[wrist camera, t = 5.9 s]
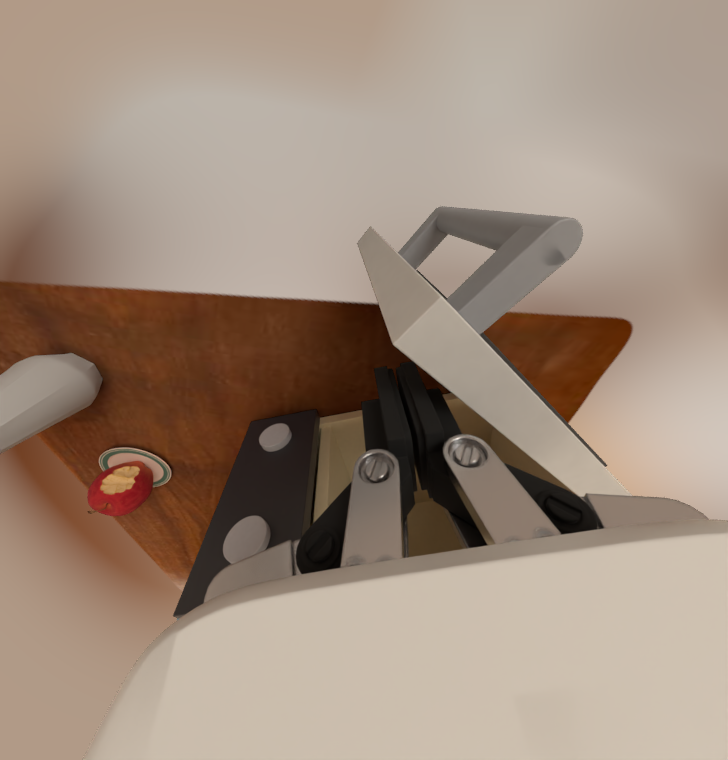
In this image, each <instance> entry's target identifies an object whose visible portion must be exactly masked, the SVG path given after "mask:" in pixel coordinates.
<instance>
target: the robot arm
mask: <svg viewBox="0 0 728 760" xmlns="http://www.w3.org/2000/svg"><path fill="white" fill-rule="evenodd" d="M374 372H375V377H376V383H377V389H378V394H379V399H375V400H369V401H364V402H362V403H361V404H362V416H363V427H364V439H365V450H366V452H365V453H363V454H362V455H361V456H360V457H359V458H358V459H357V461H356V462H355V465H354V469H353V476H352V481H351V483H350V484H349V485H348V486H347V487H346V488H345V489H344V490H343V491H342V492H341V493H340V495H339V496H338V497H337V498H336V499H335V500H334V501H333V502H332V503H331V504H330V506H329V507H328V508H327V509H326V510H325V511H324V512H323V513H322V514H321V515H320V517H319V518H318V519H317V520H316V521H315V522H314V523H313V524H312V525H311V526H310V527H309V529H308V530H307V531H306V532H305V533H304V535H303V536H302V537H301V539H299V540H296V541H294V542H292V541H291V540H288V541H286V542H283V543H281V544H279V545H276V546H274V547H271V548H269V549H266V550H264V551H262V552H259V553H257V554H254V555H252V556H249V557H247V558H245V559H242V560H240V561H237V562H235V563H232V564H230V565H228V566H227V567H225V568H224V569H222V570H221V571H220V572H219V573H218V574H217V575H216V576H215V577H214V578H213V580H212V582H211V583H210V585H209V587H208V589H207V592H206V595H205V598H204V603H203V604H201V605H200V606H198V607H196V608H194V609H193V610H191V611H190V612H188V613H187V614H185V615H184V616H182V617H181V618H179V619H178V620H177V621H176V622H174V623H173V624H172V625H171V626H169V627H168V628H167V629H165V630H164V631H163V632H162V633H161V634H160V635H159V636H158V637H157V638H156V639H155V640H154V641H153V642H152V643H151V644H150V645H149V646H148V647H147V648H146V650H145V651H144V652H143V653H142V655H141V656H140V657H139V659H138V660H137V661H136V663H135V664H134V666H133V668H132V669H131V670H130V672H129V674H128V675H127V677H126V678H125V680H124V682H123V683H122V686H121V687H120V689H119V690H118V692H117V694H116V696H115V698H114V699H113V701H112V703H111V705H110V707H109V709H108V711H107V713H106V715H105V716H104V718H103V720H102V722H101V724H100V726H99V727H98V729H97V731H96V733H95V735H94V738H93V739H92V742H91V744H90V746H89V747H88V749H87V751H86V753H85V755H84V757H83V759H82V760H728V521H725V520H709V519H708V518H707V517H706V516H705V515H704V514H703V513H701V512H699V511H698V510H696V509H695V508H693V507H691V506H690V505H687V504H685V503H682V502H680V501H677V500H673V499H668V498H659V497H642V496H624V495H607V494H589V493H586V494H585V496H584V497H582V496H577V495H575V494H573V493H572V492H570V491H568V490H566V489H563V488H561V487H559V486H557V485H554V484H552V483H550V482H547V481H545V480H543V479H541V478H538V477H536V476H534V475H531V474H529V473H527V472H524V471H522V470H520V469H518V468H515V467H513V466H511V465H508V464H506V463H504V462H502V461H501V460H500V458H499V457H498V456H497V455H496V453H495V452H494V451H493V450H492V449H491V447H490V446H489V445H488V444H487V443H486V442H485V441H484V440H482V439H480V438H478V437H476V436H472V435H467V434H462V432H461V430H460V428H459V426H458V424H457V422H456V420H455V419H454V417H453V415H452V413H451V411H450V409H449V407H448V405H447V403H446V401H445V399H444V397H443V395H442V393H441V391H440V390H439V389H438V388H436V389H430V390H426V388H425V386H424V384H423V381H422V379H421V377H420V375H419V372H418V370H417V368H416V365H415V363H414V362H413V361H412V362H406V363H401V364H400V367H398V368H396V374H397V381H398V387H397V383H396V380H395V377H394V373H393V370H392V369H387V366H385V367H379V368H374ZM398 389H399V390H398ZM415 468H416V471H417V475H418V479H419V483H420V486H421V489H422V490H427V492H428V495H429V498H433V501H434V502H436V503H437V504H439V505H441V506H442V507H443V509H444V512H445V514H446V516H447V518H448V520H449V523H450V525H451V527H452V529H453V531H454V533H455V535H456V537H457V539H458V541H459V543H460V545H461V547H462V549H461V550H454V551H448V552H441V553H434V554H428V555H421V556H414V557H410V553H409V534H408V518H407V515H408V514H409V512H410V511H411V510H412V508H413V507H414V505H415V498H414V492H416V491H417V482H416V472H415Z"/></svg>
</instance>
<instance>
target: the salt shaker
mask: <svg viewBox="0 0 728 760" xmlns="http://www.w3.org/2000/svg"><path fill="white" fill-rule="evenodd" d="M102 380H103V378H102V377H101V375H100V373H99V371H98V370H97V368H96V366H95V364H93V363H91V362H89V361H87V360H85V359H83V358H81V357H79V356H77V355H75V354H73V353H68V354H59V355H38V356H32V357H29V358H27V359H24V360H22V361H20V362H17V363H15V364H14V365H13V366H12V367H10V368H9V369H8V370H7V371H5V372H4V373H3V374H1V375H0V454H1V453H3V452H5V451H7V450H8V449H10V448H12V447H14V446H16V445H17V444H19V443H21V442H22V441H24V440H26V439H28V438H30V437H32V436H34V435H36V434H37V433H39V432H41V431H43V430H45V429H47V428H49V427H50V426H52V425H54V424H56V423H58V422H60V421H62V420H64V419H65V418H67V417H69V416H71V415H73V414H75V413H77V412H78V411H80V410H82V409H84V408H86V407H88V406H90V405H91V404H92V402H93V401H94V399H95V398H96V396H97V394H98V392H99V389H100V386H101V383H102Z"/></svg>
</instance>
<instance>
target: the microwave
mask: <svg viewBox="0 0 728 760" xmlns="http://www.w3.org/2000/svg"><path fill="white" fill-rule="evenodd" d="M443 397H444V399H445V401H446V403H447V405H448V407H449V409H450V411H451V413H452V415H453V417H454V419H455V420H456V422H457V424H458V426H459V428H460V430H461V432H462V434H467V435H472V436H476V437H478V438H480V439H482V440H484V441H485V442H486V443H487V444H488V445H489V446H490V447H491V449H492V450H493V451H494V452H495V453H496V455H497V456H498V457H499V458H500V460H501V461H502V462H504V463H506V464H508V465H511V466H513V467H515V468H518V469H520V470H522V471H524V472H527V473H529V474H531V475H534V476H536V477H538V478H541V479H543V480H545V481H547V482H550V483H552V484H554V485H557V486H559V487H561V488H563V489H566V490H568V491H570V492H572V493H573V494H575V493H574V492H573V491H571V490H570V489H569V488H568V487H566V486H565V485H564V484H563V483H562V482H560V481H559V480H558V479H557V478H555V477H554V476H553V475H552V474H551V473H549V472H548V471H547V470H546V469H544V468H543V467H542V466H541V465H539V464H538V463H537V462H536V461H535V460H533V459H532V458H531V457H530V456H528V455H527V454H526V453H525V452H524V451H522V450H521V449H520V448H519V447H517V446H516V445H515V444H514V443H512V442H511V441H510V440H509V439H508V438H506V437H505V436H504V435H503V434H501V433H500V432H499V431H498V430H497V429H495V428H494V427H493V426H492V425H490V424H489V423H488V422H487V421H485V420H484V419H483V418H482V417H481V416H479V415H478V414H477V413H476V412H474V411H473V410H472V409H471V408H470V407H468V406H467V405H466V404H465V403H463V402H462V401H461V400H460V399H458V398H457V397H456V396H455V395H454V394H452V393H448V394H443ZM365 452H366V450H365V439H364V427H363V416H362V410H359V411H353V412H348V413H343V414H338V415H332V416H327V417H322V418H320V417H319V415H318V412H317V410H316V409H315V410H310V411H304V412H299V413H294V414H289V415H284V416H278V417H273V418H268V419H263V420H258V421H253V422H251V423H250V426H249V428H248V431H247V433H246V436H245V438H244V441H243V443H242V446H241V448H240V451H239V453H238V456H237V458H236V461H235V463H234V465H233V468H232V470H231V473H230V475H229V478H228V480H227V483H226V485H225V488H224V490H223V493H222V495H221V498H220V500H219V503H218V505H217V508H216V510H215V513H214V515H213V518H212V520H211V523H210V525H209V528H208V530H207V533H206V535H205V538H204V540H203V543H202V545H201V548H200V550H199V553H198V555H197V558H196V560H195V562H194V565H193V567H192V570H191V572H190V575H189V577H188V580H187V582H186V585H185V587H184V590H183V593H182V595H181V598H180V600H179V603H178V605H177V607H176V610H175V612H174V615H173V616H174V617H176V618H178V619H179V618H181V617H182V616H184V615H185V614H187V613H188V612H190V611H191V610H193V609H194V608H196V607H198V606H200V605H201V604H203V603H204V598H205V595H206V592H207V589H208V587H209V585H210V583H211V582H212V580H213V578H214V577H215V576H216V575H217V574H218V573H219V572H220V571H221V570H222V569H224V568H225V567H227V566H228V565H230V564H232V563H235V562H237V561H240V560H242V559H245V558H247V557H249V556H252V555H254V554H257V553H259V552H262V551H264V550H266V549H269V548H271V547H274V546H276V545H279V544H281V543H283V542H286V541H288V540H291V541H292V542H294V541H296V540H299V539H301V537H302V536H303V535H304V533H305V532H306V531H307V530H308V529H309V527H310V526H311V525H312V524H313V523H314V522H315V521H316V520H317V519H318V518H319V517H320V515H321V514H322V513H323V512H324V511H325V510H326V509H327V508H328V507H329V506H330V504H331V503H332V502H333V501H334V500H335V499H336V498H337V497H338V496H339V495H340V493H341V492H342V491H343V490H344V489H345V488H346V487H347V486H348V485H349V484H350V483H351V481H352V476H353V469H354V465H355V462H356V461H357V459H358V458H359V457H360V456H361V455H362V454H363V453H365ZM415 472H416V482H417V491H416V492H414V498H415V505H414V507H413V508H412V510H411V511H410V512H409V514H408V515H407V518H408V534H409V553H410V557H414V556H421V555H428V554H434V553H441V552H448V551H454V550H461V549H462V547H461V545H460V543H459V541H458V539H457V537H456V535H455V533H454V531H453V529H452V527H451V525H450V523H449V520H448V518H447V516H446V514H445V512H444V509H443V507H442V506H441V505H439V504H437V503H436V502H434V501H433V498H429V495H428V492H427V490H422V489H421V486H420V483H419V479H418V475H417V471H416V468H415ZM575 495H576V494H575ZM577 496H578V495H577Z"/></svg>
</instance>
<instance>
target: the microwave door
mask: <svg viewBox="0 0 728 760" xmlns="http://www.w3.org/2000/svg"><path fill="white" fill-rule="evenodd" d="M448 234H450V235H452V236H455V237H458V238H461V239H464V240H467V241H470V242H473V243H476V244H479V245H482V246H485V247H488V248H491V249H493V250H496V252H495V253H494V254H493V255H492V256H491V257H490V258H489V259H488V260H487V261H486V262H485V263H484V264H483V265H481V266H480V267H479V268H478V269H477V270H476V271H475V272H474V273H473V274H472V275H471V276H470V277H469V278H468V279H467V280H466V281H465V282H464V283H463V284H462V285H461V286H460V287H459V288H458V289H457V290H456V291H455V292H454V293H453V294H452V295H450V296H449V297H448V298H446V297H445V296H444V295H443V294H442V293H441V292H440V291H439V290H438V289H437V288H436V287H435V286H434V285H432V284H431V283H430V282H429V281H428V280H427V279H426V278H425V277H424V276H423V275H422V274H421V273H420V272H419V271H418V270H416V268H417V267H418V266H419V265H420V264H421V263H422V262H423V261H424V260H425V259H426V258H427V256H428V255H429V254H430V253H431V252H432V251H433V250H434V249H435V248H436V247H437V246H438V244H439V243H440V242H441V241H442V240H443V239H444V238H445V237H446V236H447V235H448ZM582 236H583V229H582V226H581V224H580V223H579V222H578V221H577V220H576V219H574V218H568V217H557V216H545V215H534V214H522V213H511V212H500V211H489V210H477V209H466V208H454V207H439V208H437V209H435V210H434V212H433V213H432V214H431V215H430V216H429V217H428V219H427V220H426V221H425V222H424V223H423V224H422V225H421V227H420V228H419V229H418V230H417V231H416V232H415V234H414V235H413V236H412V237H411V238H410V240H409V241H408V242H407V243H406V244H405V245H404V246H403V248H402V249H401V250H400V251H399V252H398V253H397V252H396V251H395V250H394V249H393V248H392V247H391V246H390V245H389V244H388V243H387V242H386V241H385V240H384V239H383V238H382V237H381V236H380V235H379V234H378V233H377V232H376V231H375V230H374V229H373V228H372V227H369V229H368V230H367V231H366V232H365V234H364V235H363V237H362V238H361V239H360V240H359V241H358V243H357V244H358V247H359V250H360V253H361V255H362V258H363V261H364V264H365V267H366V269H367V272H368V275H369V278H370V281H371V284H372V287H373V289H374V292H375V295H376V298H377V301H378V304H379V307H380V310H381V312H382V315H383V318H384V321H385V324H386V327H387V330H388V332H389V335H390V338H391V341H392V344H393V346H395V347H396V348H397V349H398V350H400V351H401V352H402V353H403V354H405V355H406V356H407V357H408V358H409V359H411V360H412V361H413V362H414V363H416V364H417V365H418V366H419V367H420V368H422V369H423V370H424V371H425V372H427V373H428V374H429V375H430V376H431V377H433V378H434V379H435V380H436V381H438V382H439V383H440V384H441V385H443V386H444V387H445V388H446V389H447V390H449V391H450V392H451V393H452V394H454V395H455V396H456V397H457V398H458V399H460V400H461V401H462V402H463V403H465V404H466V405H467V406H468V407H470V408H471V409H472V410H473V411H474V412H476V413H477V414H478V415H479V416H481V417H482V418H483V419H484V420H485V421H487V422H488V423H489V424H490V425H492V426H493V427H494V428H495V429H497V430H498V431H499V432H500V433H501V434H503V435H504V436H505V437H506V438H508V439H509V440H510V441H511V442H512V443H514V444H515V445H516V446H517V447H519V448H520V449H521V450H522V451H524V452H525V453H526V454H527V455H528V456H530V457H531V458H532V459H533V460H535V461H536V462H537V463H538V464H539V465H541V466H542V467H543V468H544V469H546V470H547V471H548V472H549V473H551V474H552V475H553V476H554V477H555V478H557V479H558V480H559V481H560V482H562V483H563V484H564V485H565V486H566V487H568V488H569V489H570V490H571V491H573V492H574V493H575V494H576V495H578V496H582V497H584V496H585V494H586V493H589V494H607V495H624V496H632V495H631V494H630V493H629V492H628V491H627V490H626V489H625V487H623V485H622V484H621V483H620V482H619V481H618V480H617V479H616V478H615V477H614V476H613V475H612V474H611V473H610V472H609V471H608V470H607V469H606V468H605V467H606V466H607V465H606V463H604V461H603V460H602V459H601V458H600V457H599V456H598V455H597V454H596V453H595V452H594V451H593V450H592V449H591V448H590V447H589V445H588V444H587V443H586V442H585V441H584V440H583V439H582V438H581V437H580V436H579V435H578V434H577V433H576V431H575V430H574V429H573V428H571V426H570V425H569V424H568V423H567V422H566V421H565V420H564V419H563V418H562V417H561V415H560V414H559V413H558V412H557V411H556V410H555V409H554V408H553V407H552V406H551V405H550V404H549V403H548V402H547V401H546V399H545V398H544V397H543V396H542V395H541V394H540V393H539V392H538V391H537V390H536V389H535V388H534V387H533V386H532V384H531V383H530V382H529V381H528V380H527V379H526V378H525V377H524V376H523V375H522V374H521V373H520V372H519V371H518V370H517V368H516V367H515V366H514V365H513V364H512V363H511V362H510V361H509V360H508V359H507V358H506V357H505V356H504V355H503V354H502V352H501V351H500V350H499V349H498V348H497V347H496V346H495V345H494V344H493V343H492V342H491V341H490V340H489V339H488V338H487V336H486V335H485V334H484V333H483V332H484V331H485V330H486V329H487V328H488V327H490V326H491V325H492V324H493V323H494V322H495V321H497V320H498V319H499V318H500V317H501V316H503V315H504V314H505V313H506V312H507V311H508V310H510V309H511V308H512V307H513V306H514V305H515V304H517V303H518V302H519V301H520V300H521V299H523V298H524V297H525V296H526V295H527V294H528V293H530V292H531V291H532V290H533V289H534V288H535V287H537V286H538V285H539V284H540V283H541V282H542V281H544V280H545V279H546V278H547V277H549V276H550V275H551V274H552V273H553V272H554V271H556V270H557V269H558V268H559V267H560V266H561V265H563V264H564V263H565V262H566V261H567V260H569V259H570V258H571V257H572V256H573V255H574V254H575V252H576V251H577V249H578V248H579V246H580V243H581V241H582Z"/></svg>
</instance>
